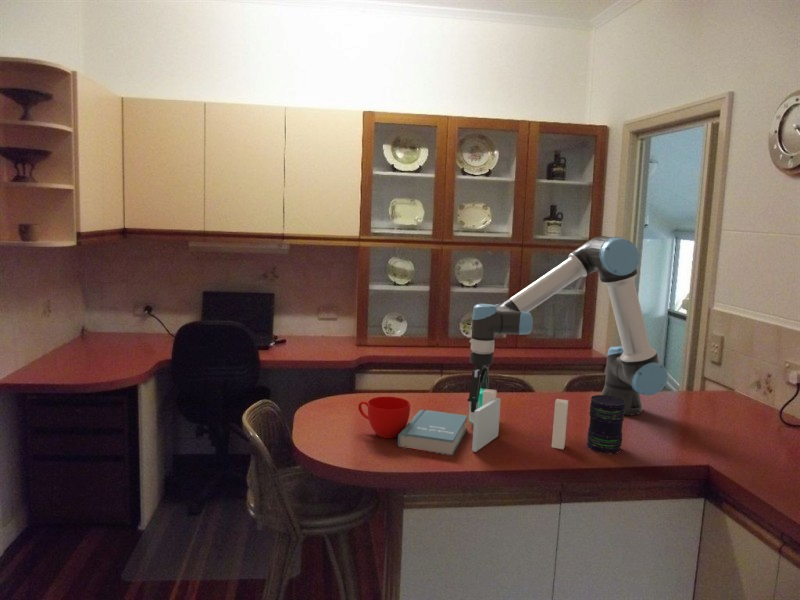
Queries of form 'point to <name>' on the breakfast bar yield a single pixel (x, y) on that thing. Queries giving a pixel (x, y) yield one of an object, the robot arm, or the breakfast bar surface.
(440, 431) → the book
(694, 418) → the breakfast bar surface
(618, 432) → the storage jar
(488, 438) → the door
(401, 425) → the ceramic cup
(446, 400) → the breakfast bar surface
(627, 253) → the robot arm
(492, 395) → the door frame
